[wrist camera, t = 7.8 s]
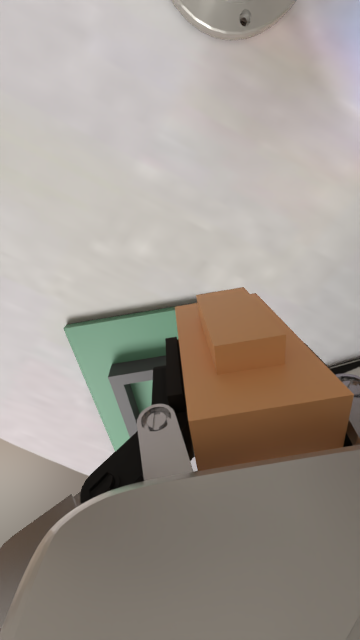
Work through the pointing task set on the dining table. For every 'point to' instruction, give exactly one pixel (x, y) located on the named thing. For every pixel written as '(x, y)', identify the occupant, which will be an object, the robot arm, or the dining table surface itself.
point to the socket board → (122, 364)
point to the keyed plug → (254, 384)
